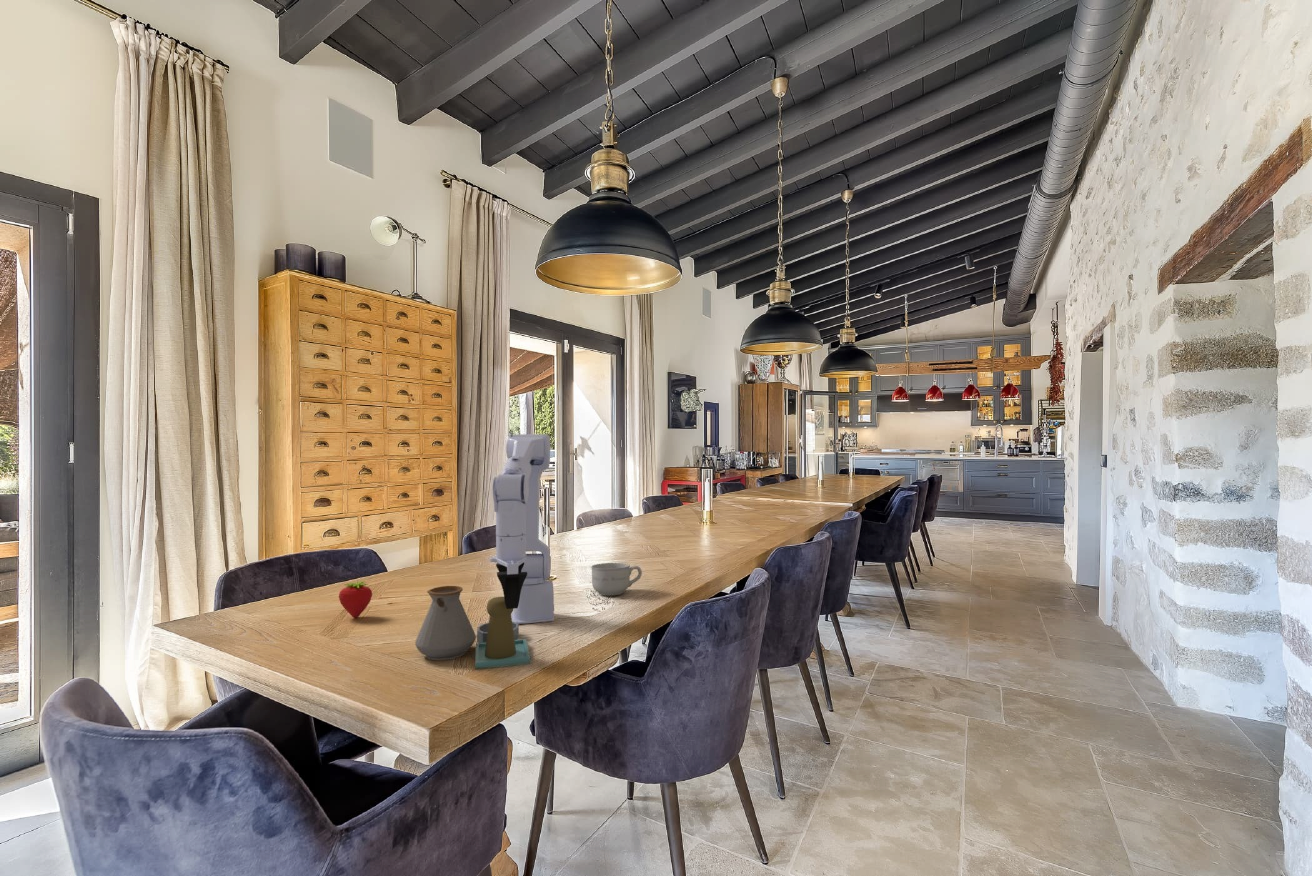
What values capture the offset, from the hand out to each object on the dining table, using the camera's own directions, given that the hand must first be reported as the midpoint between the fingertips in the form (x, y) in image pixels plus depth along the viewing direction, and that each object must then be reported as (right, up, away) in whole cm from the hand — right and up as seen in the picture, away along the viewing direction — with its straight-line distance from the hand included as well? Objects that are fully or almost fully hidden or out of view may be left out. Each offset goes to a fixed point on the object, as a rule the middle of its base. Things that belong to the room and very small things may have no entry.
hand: (511, 602), depth 120 cm
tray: (-2, -10, -1) cm, 11 cm away
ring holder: (-5, -10, +10) cm, 15 cm away
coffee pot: (-12, -11, -4) cm, 17 cm away
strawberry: (-44, -11, +25) cm, 52 cm away
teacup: (+18, -11, +47) cm, 52 cm away
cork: (-2, -10, -1) cm, 10 cm away
